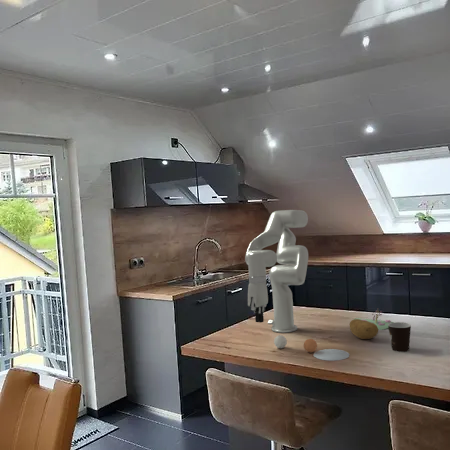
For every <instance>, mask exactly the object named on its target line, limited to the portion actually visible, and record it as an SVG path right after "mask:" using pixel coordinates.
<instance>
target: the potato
mask: <svg viewBox="0 0 450 450" xmlns="http://www.w3.org/2000/svg"><path fill="white" fill-rule="evenodd" d="M349 329H350V332H351V333H352V334H353V335H354V336H356V338H358V339H361V340H372V339H374V338H375V337H376V336H377V335H378V334H379V330H378V327H377V326H376V325H375V324H374V323H371V322H368V321H365V320H360V319H355V318H354V320H353V319H352V320H351V321H349Z"/></svg>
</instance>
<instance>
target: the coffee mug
mask: <svg viewBox="0 0 450 450" xmlns="http://www.w3.org/2000/svg"><path fill="white" fill-rule="evenodd" d="M393 322H394V321H393ZM411 327H412V324H411V323H408V322H401V321H397V322H396V321H395V322H394V323H389V324H388V328H387V329H388V331H389V332H388V333H389V340H390V344H391V349H392V351H393V352H398V353H405V352H409V351H410V344H411V343H410V341H411Z"/></svg>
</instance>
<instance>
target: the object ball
mask: <svg viewBox="0 0 450 450" xmlns="http://www.w3.org/2000/svg"><path fill="white" fill-rule="evenodd" d="M317 348H318V344H317V341H316V340H314V339H313V338H308V339H306V340H305V341H304V342H303V349H304V350H305V351H306V352H307V353H315V352H316V350H317Z"/></svg>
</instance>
